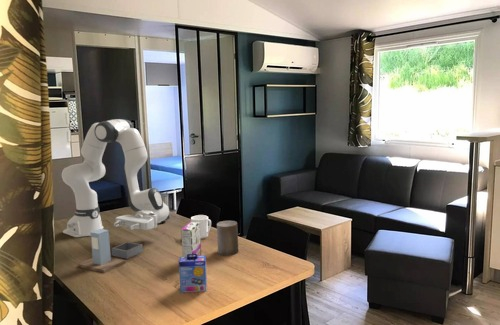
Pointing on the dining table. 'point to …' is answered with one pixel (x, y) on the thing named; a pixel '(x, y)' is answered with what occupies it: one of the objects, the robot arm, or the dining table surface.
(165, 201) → the milk frother
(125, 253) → the gray bin
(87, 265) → the walnut board
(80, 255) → the dining table surface
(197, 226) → the candy bar box
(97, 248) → the slate box
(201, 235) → the mug
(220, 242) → the pillar candle
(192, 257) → the ink cartridge box
